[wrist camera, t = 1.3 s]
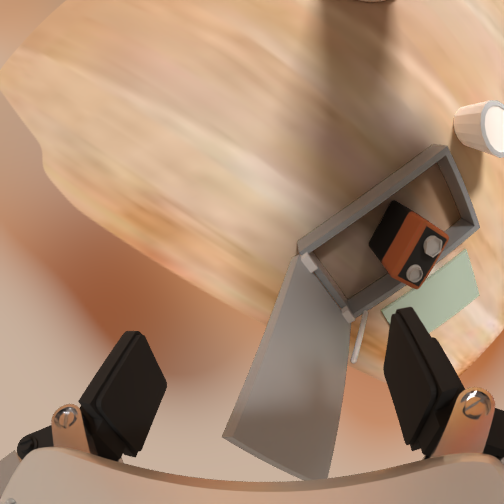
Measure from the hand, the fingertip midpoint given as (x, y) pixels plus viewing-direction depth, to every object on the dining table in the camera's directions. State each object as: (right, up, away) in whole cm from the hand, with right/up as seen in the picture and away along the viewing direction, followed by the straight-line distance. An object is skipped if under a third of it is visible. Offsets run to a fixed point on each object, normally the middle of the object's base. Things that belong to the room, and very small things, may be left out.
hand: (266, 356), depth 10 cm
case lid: (+5, -6, +15) cm, 17 cm away
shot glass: (+28, +20, +17) cm, 39 cm away
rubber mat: (+27, -4, +27) cm, 38 cm away
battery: (+17, +7, +23) cm, 30 cm away
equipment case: (+17, +7, +23) cm, 30 cm away
